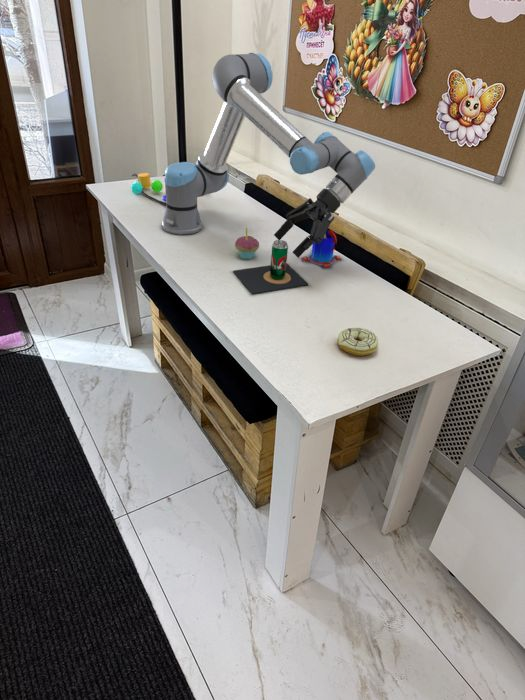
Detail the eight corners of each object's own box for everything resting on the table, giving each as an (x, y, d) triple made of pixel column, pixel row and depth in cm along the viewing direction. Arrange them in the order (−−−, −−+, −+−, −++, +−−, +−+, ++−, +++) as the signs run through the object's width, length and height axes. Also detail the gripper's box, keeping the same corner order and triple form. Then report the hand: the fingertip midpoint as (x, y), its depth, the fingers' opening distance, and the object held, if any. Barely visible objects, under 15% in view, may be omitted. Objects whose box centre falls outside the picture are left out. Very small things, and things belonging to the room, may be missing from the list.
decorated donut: (340, 332, 143) (343, 321, 141) (378, 341, 141) (381, 329, 138) (333, 352, 135) (335, 340, 133) (373, 361, 132) (376, 350, 130)
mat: (233, 272, 169) (233, 269, 168) (286, 264, 176) (286, 262, 176) (251, 294, 157) (252, 292, 157) (308, 285, 165) (308, 283, 164)
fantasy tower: (343, 258, 183) (348, 226, 176) (328, 269, 175) (333, 237, 168) (314, 249, 188) (319, 218, 181) (299, 260, 180) (302, 227, 173)
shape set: (133, 187, 235) (130, 172, 230) (208, 182, 239) (207, 166, 235) (131, 211, 211) (128, 193, 207) (214, 204, 216) (213, 187, 212)
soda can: (286, 275, 168) (290, 241, 161) (282, 281, 164) (285, 247, 157) (272, 272, 169) (275, 238, 162) (267, 278, 165) (270, 244, 158)
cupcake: (255, 263, 175) (257, 230, 168) (231, 259, 177) (232, 226, 170) (260, 253, 182) (262, 221, 175) (237, 249, 183) (238, 217, 176)
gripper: (307, 175, 164) (262, 224, 167) (348, 202, 146) (296, 256, 149) (319, 190, 169) (275, 237, 172) (360, 218, 151) (310, 269, 154)
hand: (285, 246), depth 161 cm, fingers open, 13 cm apart
